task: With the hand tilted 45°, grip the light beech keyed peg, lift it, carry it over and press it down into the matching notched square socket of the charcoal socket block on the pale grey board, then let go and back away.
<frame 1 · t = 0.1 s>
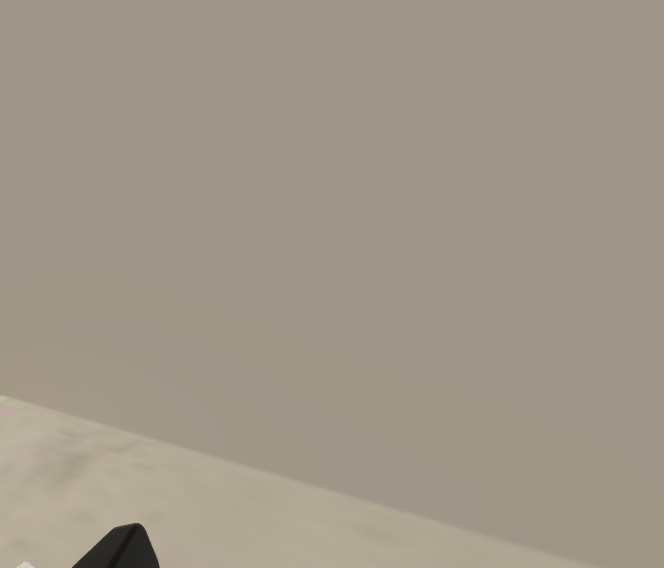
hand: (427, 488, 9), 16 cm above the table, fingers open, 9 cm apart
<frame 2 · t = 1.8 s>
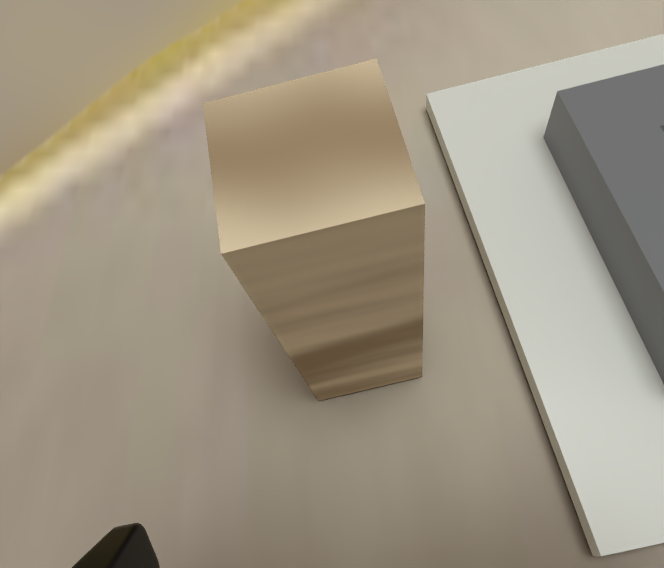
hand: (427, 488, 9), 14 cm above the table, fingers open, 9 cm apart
keyed peg: (358, 340, 24), on the table
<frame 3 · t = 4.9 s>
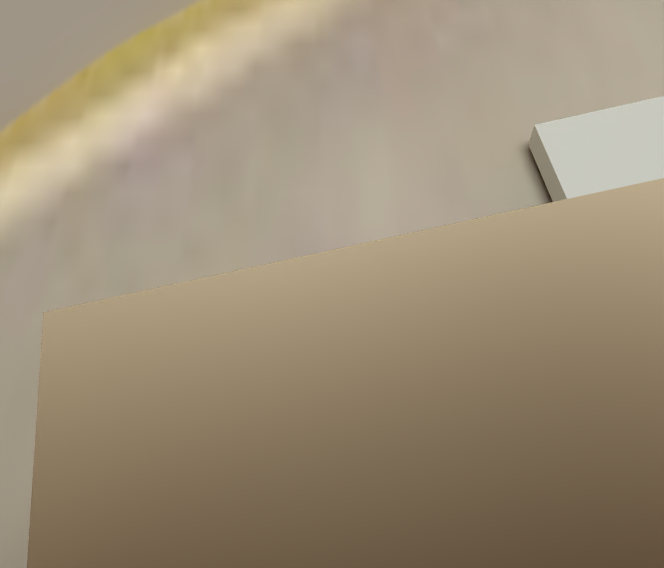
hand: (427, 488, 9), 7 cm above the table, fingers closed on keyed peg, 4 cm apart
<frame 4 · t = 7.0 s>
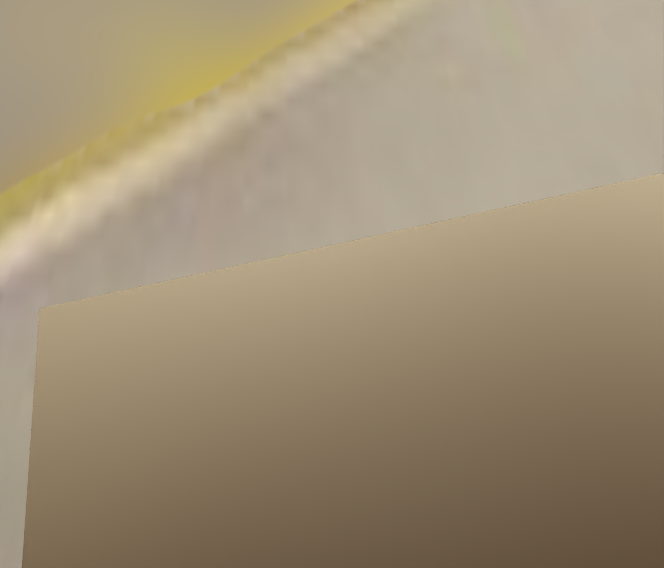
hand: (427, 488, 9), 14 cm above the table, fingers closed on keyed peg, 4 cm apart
when the fingers open (8 cm above the table, at t = 9.2 s): keyed peg stays where it is, resting on socket block.
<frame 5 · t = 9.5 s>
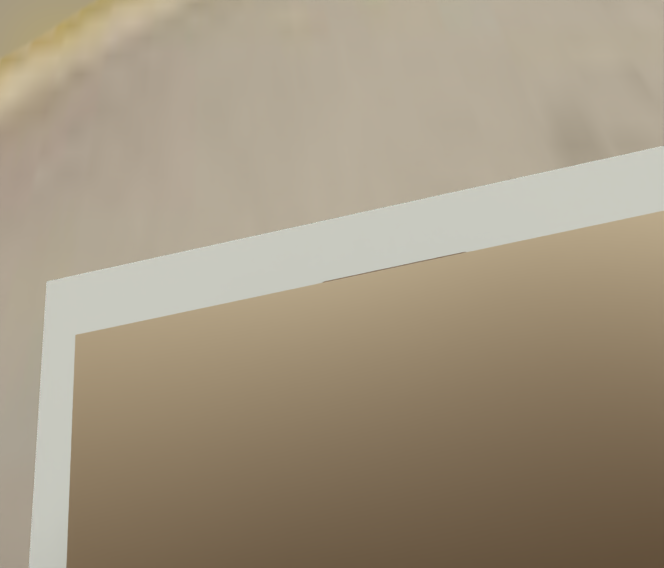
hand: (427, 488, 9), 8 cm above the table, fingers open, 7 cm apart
socket block: (431, 567, 15), on the table
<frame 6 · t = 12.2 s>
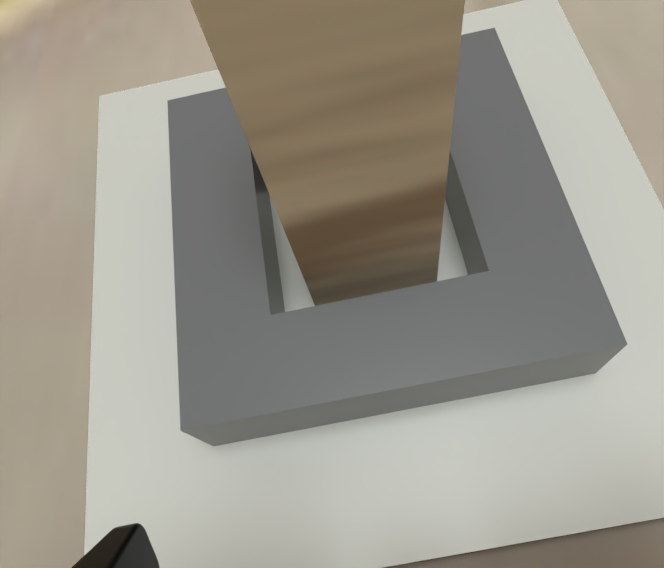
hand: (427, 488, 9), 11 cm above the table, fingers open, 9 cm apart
socket block: (367, 256, 22), on the table
keyed peg: (364, 245, 21), point 1 cm above the table, touching socket block
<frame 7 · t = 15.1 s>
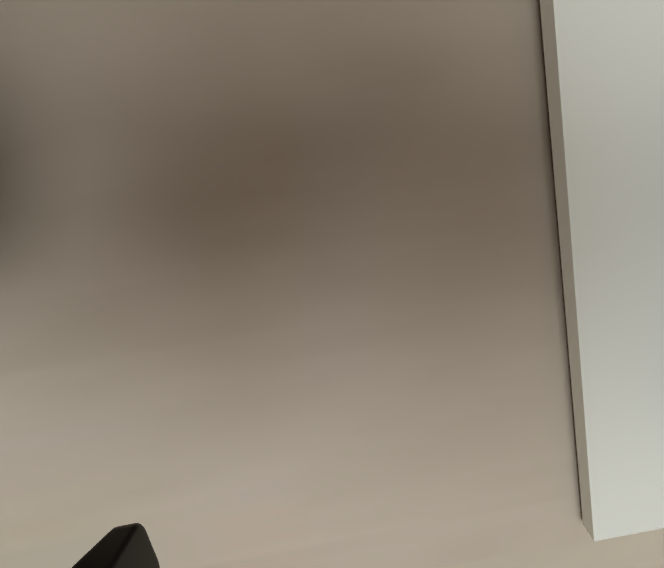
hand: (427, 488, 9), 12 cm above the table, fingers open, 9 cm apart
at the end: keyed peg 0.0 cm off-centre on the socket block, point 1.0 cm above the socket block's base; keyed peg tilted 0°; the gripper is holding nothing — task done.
